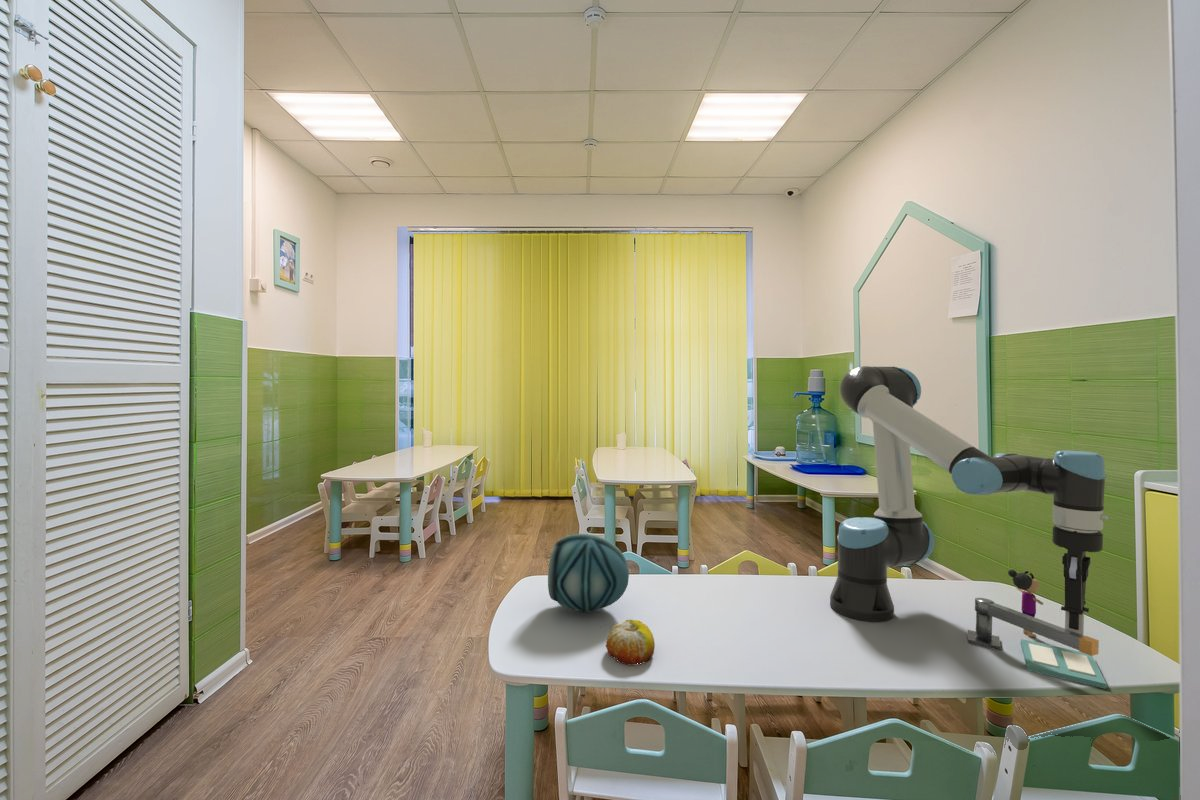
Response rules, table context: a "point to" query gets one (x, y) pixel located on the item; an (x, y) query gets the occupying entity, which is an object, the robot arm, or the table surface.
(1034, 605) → the toy
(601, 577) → the toy
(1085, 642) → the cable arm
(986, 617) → the post
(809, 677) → the table surface
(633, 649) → the fruit
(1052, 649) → the mat
